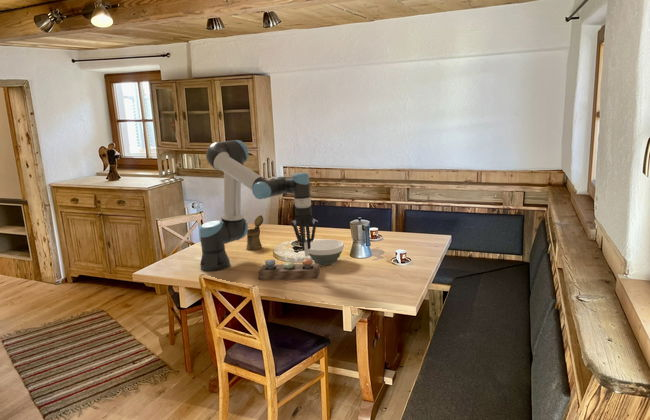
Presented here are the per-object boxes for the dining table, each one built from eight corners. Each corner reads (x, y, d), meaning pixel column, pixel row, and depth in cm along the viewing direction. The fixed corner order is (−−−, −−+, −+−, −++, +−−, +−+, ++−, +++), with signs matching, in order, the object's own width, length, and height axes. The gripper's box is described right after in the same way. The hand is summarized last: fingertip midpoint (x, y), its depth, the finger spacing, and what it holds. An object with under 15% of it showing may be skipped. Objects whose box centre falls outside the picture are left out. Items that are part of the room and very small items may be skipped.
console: (258, 279, 221) (257, 271, 220) (264, 272, 230) (263, 264, 230) (317, 278, 217) (316, 270, 216) (320, 271, 227) (319, 263, 226)
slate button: (264, 271, 222) (264, 262, 221) (267, 268, 227) (266, 259, 226) (274, 271, 222) (273, 262, 221) (276, 268, 226) (276, 259, 225)
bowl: (323, 254, 254) (322, 237, 252) (352, 259, 241) (351, 242, 239) (298, 264, 239) (297, 246, 237) (328, 271, 227) (327, 252, 225)
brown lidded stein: (269, 244, 279) (267, 215, 276) (255, 251, 268) (252, 220, 265) (258, 243, 284) (255, 214, 280) (243, 249, 273) (240, 219, 269)
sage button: (283, 274, 221) (282, 265, 220) (285, 271, 226) (285, 262, 225) (293, 274, 221) (292, 265, 220) (295, 271, 225) (294, 262, 224)
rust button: (302, 271, 220) (301, 261, 219) (303, 267, 224) (303, 258, 224) (312, 270, 219) (311, 261, 218) (313, 267, 224) (313, 258, 223)
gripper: (287, 208, 213) (292, 258, 217) (315, 207, 211) (319, 257, 216) (290, 205, 220) (295, 253, 225) (318, 204, 218) (321, 252, 223)
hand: (307, 255), depth 220 cm, fingers closed
